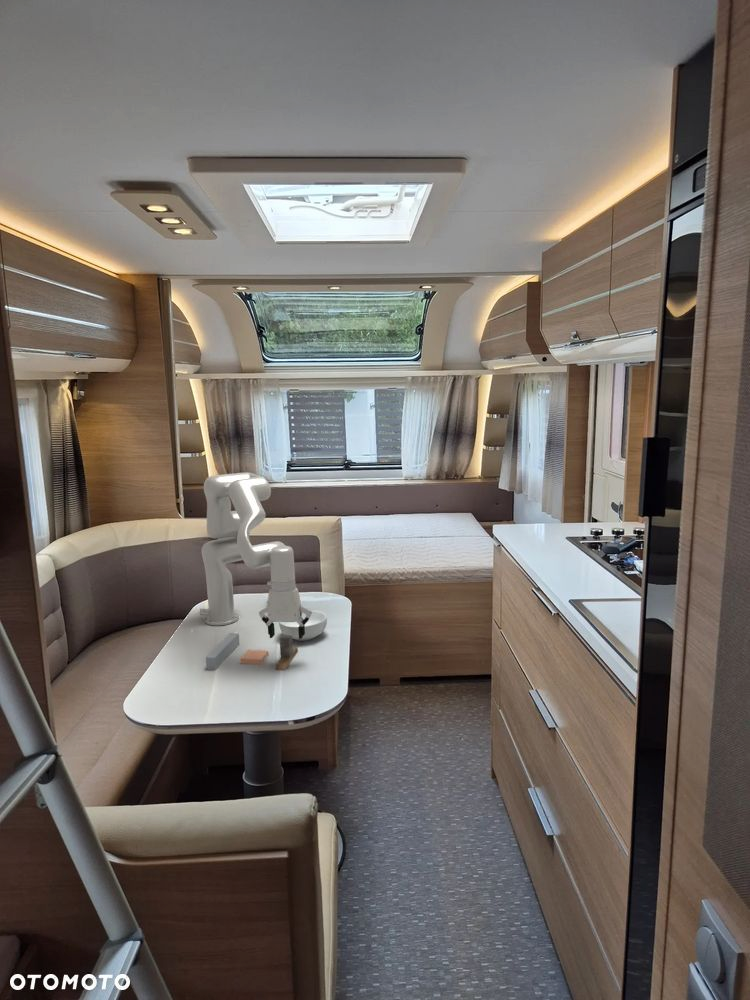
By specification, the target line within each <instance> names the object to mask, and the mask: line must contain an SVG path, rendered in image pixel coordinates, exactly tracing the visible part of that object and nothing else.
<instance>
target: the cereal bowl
mask: <svg viewBox="0 0 750 1000" xmlns="http://www.w3.org/2000/svg"><path fill="white" fill-rule="evenodd" d="M309 610H310V611H311V612H312V614H311V617H310V619H309V620H308V622H307V623H306V624H305V635H304V636H303V637H302V638H301V639H299V631H298V627H299V624H298V623H297V622H278V624H279V625H278V626H279V629H280V632H281V633H282V634H283V635H292V638H293V639H294V640H296V641H300V642H302V641H309V640H312V639H314V638H315V637H317V636H319V635H321V634H322V633H323V632H324V631H325V629H326V628H327V623H328V621H327V620H328V616H327V614H326V613H325V612H323V611H321V610H314V609H313V610H312V609H309ZM301 617H302V618H303V619H305V618H306V614H304V613H302V616H301Z"/></svg>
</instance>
